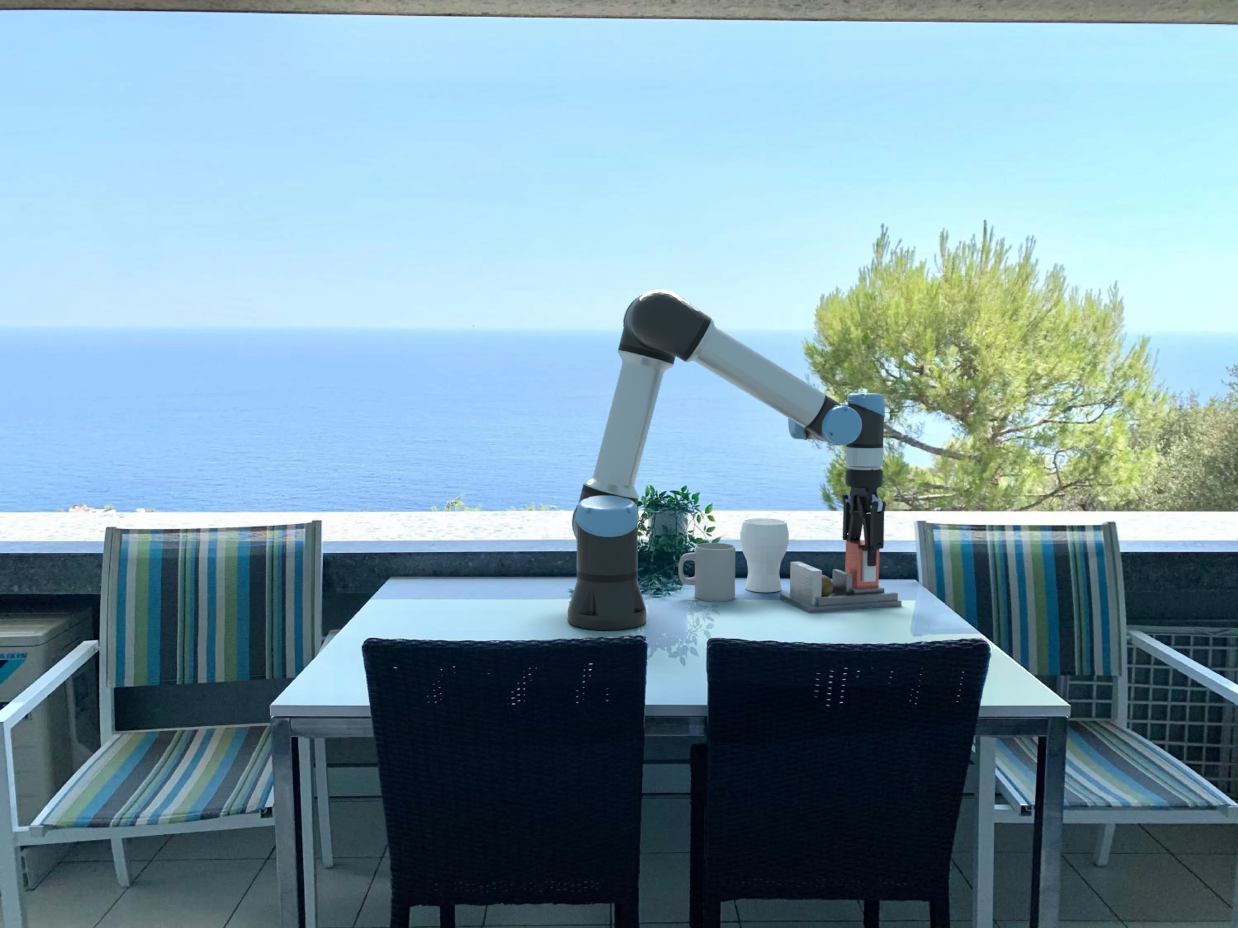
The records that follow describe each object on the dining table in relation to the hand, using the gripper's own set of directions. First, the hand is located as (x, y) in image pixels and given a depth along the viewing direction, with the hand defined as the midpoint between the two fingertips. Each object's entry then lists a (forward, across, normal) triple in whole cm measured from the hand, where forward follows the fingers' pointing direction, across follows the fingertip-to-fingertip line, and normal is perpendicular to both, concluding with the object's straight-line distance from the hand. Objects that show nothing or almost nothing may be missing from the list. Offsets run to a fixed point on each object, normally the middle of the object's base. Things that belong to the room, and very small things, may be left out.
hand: (861, 578), depth 214 cm
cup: (+5, +16, +15) cm, 22 cm away
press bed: (+5, 0, +5) cm, 7 cm away
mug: (+5, +12, +30) cm, 33 cm away
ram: (+3, 0, +1) cm, 4 cm away
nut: (+5, 0, +10) cm, 11 cm away
